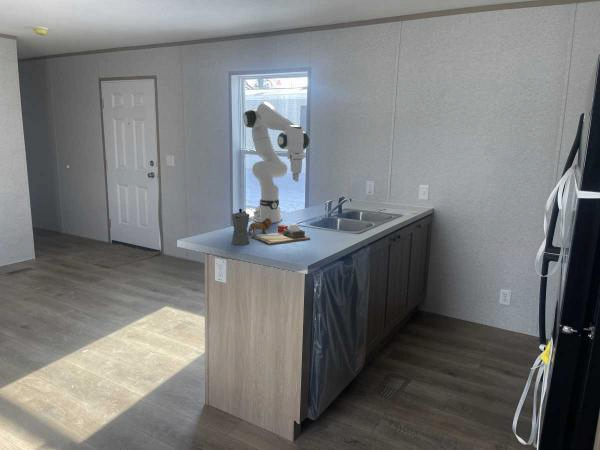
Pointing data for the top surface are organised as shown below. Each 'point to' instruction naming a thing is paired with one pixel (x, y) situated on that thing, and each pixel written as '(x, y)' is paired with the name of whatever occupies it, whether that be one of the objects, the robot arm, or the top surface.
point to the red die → (282, 228)
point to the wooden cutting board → (281, 237)
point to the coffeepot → (240, 228)
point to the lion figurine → (260, 226)
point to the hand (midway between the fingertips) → (295, 180)
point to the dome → (293, 228)
